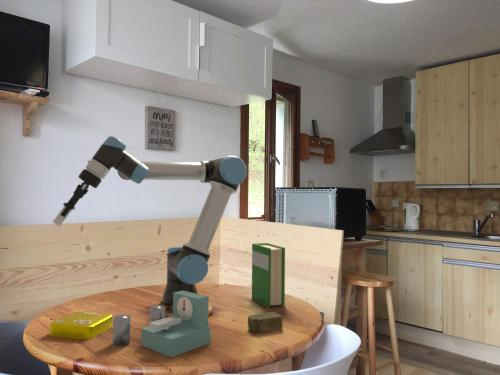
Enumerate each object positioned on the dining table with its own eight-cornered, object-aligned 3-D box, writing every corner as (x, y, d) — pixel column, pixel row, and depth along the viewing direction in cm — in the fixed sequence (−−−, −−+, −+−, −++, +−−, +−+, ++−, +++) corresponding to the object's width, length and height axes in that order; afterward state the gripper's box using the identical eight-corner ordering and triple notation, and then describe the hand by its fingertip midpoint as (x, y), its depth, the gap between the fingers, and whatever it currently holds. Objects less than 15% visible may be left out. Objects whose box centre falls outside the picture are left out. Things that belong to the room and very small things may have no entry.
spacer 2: (158, 328, 140) (158, 304, 141) (167, 331, 137) (168, 306, 137) (146, 331, 137) (146, 307, 137) (155, 335, 133) (155, 310, 134)
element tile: (114, 326, 143) (115, 312, 143) (89, 341, 128) (89, 325, 128) (75, 323, 146) (76, 309, 146) (46, 337, 131) (47, 322, 131)
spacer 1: (123, 339, 129) (124, 313, 129) (133, 343, 126) (133, 316, 126) (109, 343, 125) (109, 316, 126) (118, 347, 122) (119, 320, 122)
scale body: (180, 333, 135) (180, 290, 136) (210, 343, 126) (210, 297, 127) (141, 345, 124) (142, 298, 124) (171, 357, 115) (172, 306, 115)
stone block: (246, 329, 140) (246, 314, 140) (275, 325, 146) (275, 310, 146) (254, 334, 135) (255, 319, 135) (284, 329, 141) (284, 315, 141)
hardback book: (284, 306, 170) (285, 247, 170) (268, 308, 167) (268, 248, 168) (266, 296, 186) (267, 243, 187) (251, 297, 184) (252, 243, 184)
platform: (173, 325, 127) (173, 315, 127) (182, 328, 124) (182, 318, 124) (149, 332, 120) (149, 322, 120) (157, 336, 118) (157, 325, 118)
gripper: (83, 170, 161) (49, 216, 156) (85, 165, 138) (44, 218, 133) (100, 181, 164) (67, 226, 159) (104, 178, 141) (65, 231, 136)
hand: (56, 223), depth 146 cm, fingers open, 13 cm apart
